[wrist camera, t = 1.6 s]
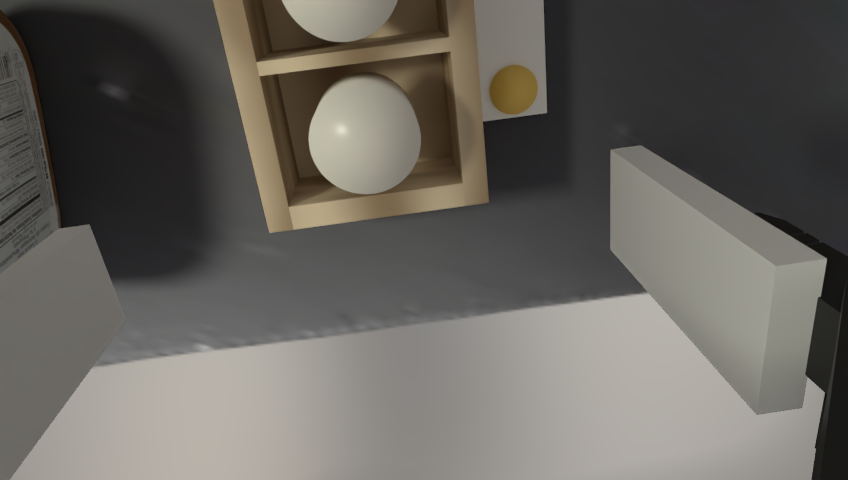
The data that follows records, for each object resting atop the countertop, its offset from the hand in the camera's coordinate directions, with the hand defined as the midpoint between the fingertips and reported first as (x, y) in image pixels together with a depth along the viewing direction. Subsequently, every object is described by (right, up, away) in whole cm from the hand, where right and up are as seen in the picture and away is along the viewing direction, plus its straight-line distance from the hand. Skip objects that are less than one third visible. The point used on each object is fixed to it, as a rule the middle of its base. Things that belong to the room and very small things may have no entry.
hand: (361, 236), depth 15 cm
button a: (-1, +6, +14) cm, 15 cm away
